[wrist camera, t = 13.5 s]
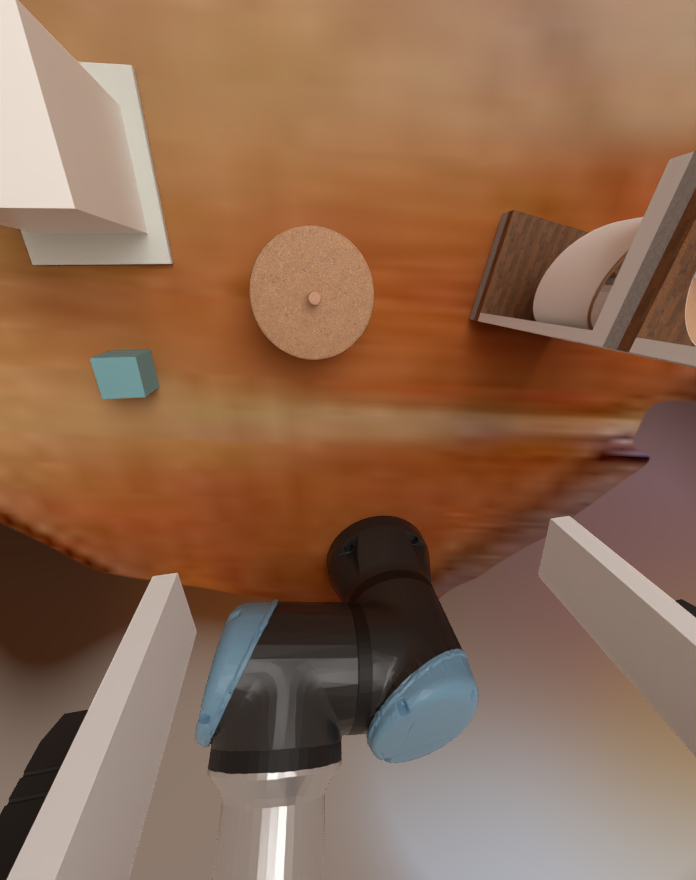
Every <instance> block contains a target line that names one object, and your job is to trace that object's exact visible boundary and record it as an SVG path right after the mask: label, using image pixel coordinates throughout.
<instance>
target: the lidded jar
mask: <svg viewBox="0 0 696 880" xmlns="http://www.w3.org/2000/svg"><path fill="white" fill-rule="evenodd" d="M249 296H250V304H251V308H252V312H253V315H254V317H255V320H256V322H257V324H258V326H259V327H260V329H261V331H262V332H263V333H264V335H265V336H266V337H267V339H268V340H270V341H271V342H272V343H273V344H274V345H275V346H276V347H277V348H279V349H280V350H282V351H283V352H285V353H287V354H289V355H291V356H294V357H297V358H301V359H307V360H321V359H327V358H330V357H334V356H336V355H338V354H340V353H342V352H344V351H346V350H347V349H348V348H350V347H351V346H352V345H353V344H354V343H355V342H356V341H357V340H358V339H359V338H360V336H361V335H362V334H363V332H364V331H365V329H366V327H367V325H368V323H369V320H370V318H371V315H372V310H373V305H374V285H373V280H372V275H371V272H370V270H369V267H368V264H367V262H366V261H365V259H364V257H363V255H362V254H361V253H360V251H359V250H358V249H357V247H356V246H355V245H354V244H353V243H352V242H351V241H350V240H348V239H347V238H346V237H344V236H343V235H341V234H340V233H338V232H336V231H334V230H332V229H329V228H326V227H322V226H315V225H304V226H297V227H293V228H290V229H287V230H285V231H283V232H281V233H279V234H278V235H276V236H275V237H274V238H273V239H271V240H270V241H269V242H268V243H267V244H266V245H265V247H264V248H263V249H262V250H261V252H260V254H259V255H258V257H257V259H256V261H255V263H254V266H253V268H252V272H251V276H250V284H249Z"/></svg>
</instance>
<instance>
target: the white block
mask: <svg viewBox="0 0 696 880" xmlns="http://www.w3.org/2000/svg"><path fill="white" fill-rule="evenodd" d="M0 225H1V226H6V227H11V228H16V229H21V230H26V231H31V232H36V233H116V234H148V231H147V226H146V222H145V217H144V212H143V208H142V203H141V199H140V194H139V190H138V185H137V180H136V176H135V171H134V167H133V162H132V158H131V153H130V148H129V144H128V139H127V135H126V130H125V126H124V121H123V116H122V112H121V107H120V105H119V104H118V103H117V102H116V101H115V100H114V99H113V98H112V97H111V96H110V95H109V94H108V93H107V92H106V91H105V90H104V88H103V87H102V86H101V85H100V84H99V83H98V82H97V81H96V80H95V79H94V78H93V77H92V76H91V75H90V74H89V73H88V72H87V71H86V70H85V69H84V68H83V67H82V66H81V65H80V64H79V63H78V62H77V61H76V60H75V58H74V57H73V56H72V55H71V54H70V53H69V52H68V51H67V50H66V49H65V48H64V47H63V46H62V45H61V44H60V43H59V42H58V41H57V40H56V39H55V38H54V37H53V36H52V35H51V34H50V33H49V32H48V31H47V30H46V28H45V27H44V26H43V25H42V24H41V23H40V22H39V21H38V20H37V19H36V18H35V17H34V16H33V15H32V14H31V13H30V12H29V11H28V10H27V9H26V8H25V7H24V6H23V5H22V4H21V3H20V2H19V1H18V0H0Z"/></svg>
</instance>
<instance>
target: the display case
mask: <svg viewBox="0 0 696 880" xmlns="http://www.w3.org/2000/svg"><path fill="white" fill-rule="evenodd" d="M469 319H470V320H474V321H479V322H484V323H488V324H493V325H497V326H502V327H506V328H511V329H516V330H520V331H525V332H529V333H534V334H538V335H543V336H548V337H552V338H557V339H562V340H566V341H571V342H576V343H581V344H585V345H590V346H595V347H600V348H604V349H609V350H614V351H619V352H623V353H628V354H633V355H638V356H643V357H647V358H652V359H657V360H662V361H666V362H671V363H676V364H681V365H685V366H690V367H695V368H696V151H693V152H690V153H687V154H684V155H681V156H678V157H675V158H672V159H670V160H669V162H668V164H667V166H666V169H665V171H664V173H663V175H662V177H661V180H660V182H659V184H658V186H657V189H656V191H655V193H654V195H653V197H652V200H651V202H650V204H649V206H648V208H647V211H646V213H645V215H644V217H640V218H635V219H629V220H624V221H619V222H615V223H611V224H608V225H605V226H602V227H600V228H597V229H595V230H593V231H591V232H589V233H588V232H585V231H581V230H578V229H575V228H571V227H568V226H565V225H561V224H558V223H555V222H552V221H548V220H545V219H542V218H538V217H535V216H532V215H528V214H525V213H522V212H519V211H515V210H513V211H510V212H507V213H503V214H502V217H501V220H500V224H499V227H498V230H497V233H496V236H495V239H494V242H493V246H492V249H491V252H490V255H489V258H488V261H487V265H486V268H485V271H484V274H483V277H482V280H481V283H480V287H479V290H478V293H477V296H476V299H475V302H474V306H473V309H472V312H471V315H470V318H469Z"/></svg>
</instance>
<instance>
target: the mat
mask: <svg viewBox="0 0 696 880" xmlns="http://www.w3.org/2000/svg"><path fill="white" fill-rule="evenodd" d="M78 63H79V64H80V65H81V66H82V67H83V68H84V69H85V70H86V71H87V72H88V73H89V74H90V75H91V76H92V77H93V78H94V79H95V80H96V81H97V82H98V83H99V84H100V85H101V86H102V87H103V88H104V90H105V91H106V92H107V93H108V94H109V95H110V96H111V97H112V98H113V99H114V100H115V101H116V102H117V103H118V104H119V105H120V107H121V112H122V116H123V121H124V126H125V130H126V135H127V139H128V144H129V148H130V153H131V158H132V162H133V167H134V171H135V176H136V180H137V185H138V190H139V194H140V199H141V203H142V208H143V212H144V217H145V222H146V226H147V231H148V234H116V233H36V232H31V231H26V230H21V229H20V230H21V233H22V236H23V239H24V242H25V245H26V247H27V250H28V253H29V256H30V259H31V262H32V265H118V264H173V261H172V256H171V251H170V246H169V240H168V235H167V230H166V225H165V220H164V215H163V210H162V205H161V200H160V195H159V190H158V185H157V180H156V175H155V170H154V165H153V160H152V155H151V150H150V145H149V140H148V135H147V130H146V125H145V120H144V115H143V110H142V105H141V100H140V95H139V90H138V85H137V80H136V75H135V70H134V68H133V67H132V65H122V64H105V63H88V62H78Z"/></svg>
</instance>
